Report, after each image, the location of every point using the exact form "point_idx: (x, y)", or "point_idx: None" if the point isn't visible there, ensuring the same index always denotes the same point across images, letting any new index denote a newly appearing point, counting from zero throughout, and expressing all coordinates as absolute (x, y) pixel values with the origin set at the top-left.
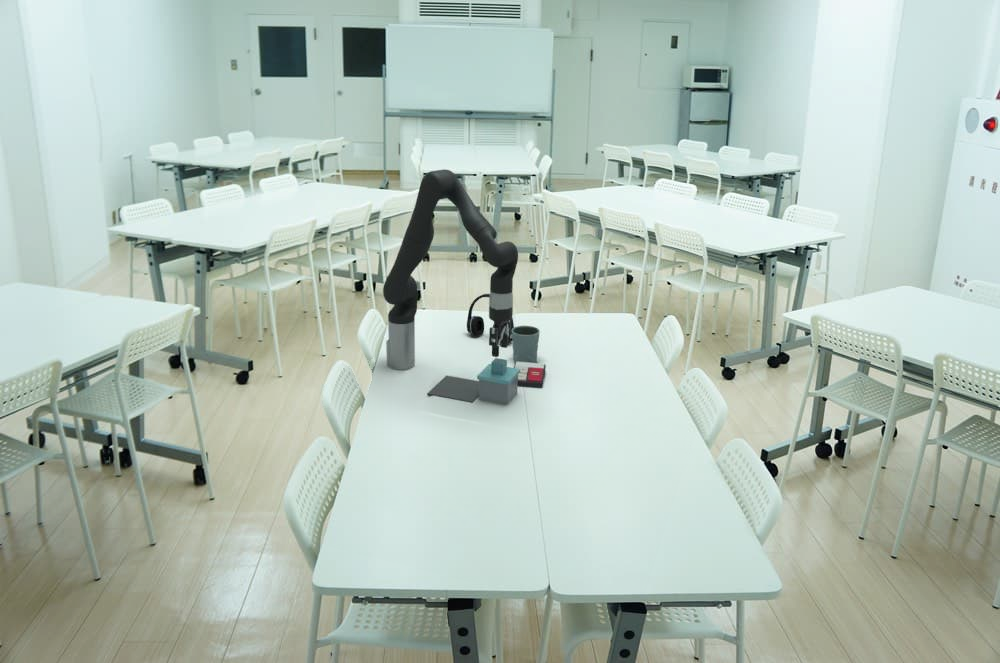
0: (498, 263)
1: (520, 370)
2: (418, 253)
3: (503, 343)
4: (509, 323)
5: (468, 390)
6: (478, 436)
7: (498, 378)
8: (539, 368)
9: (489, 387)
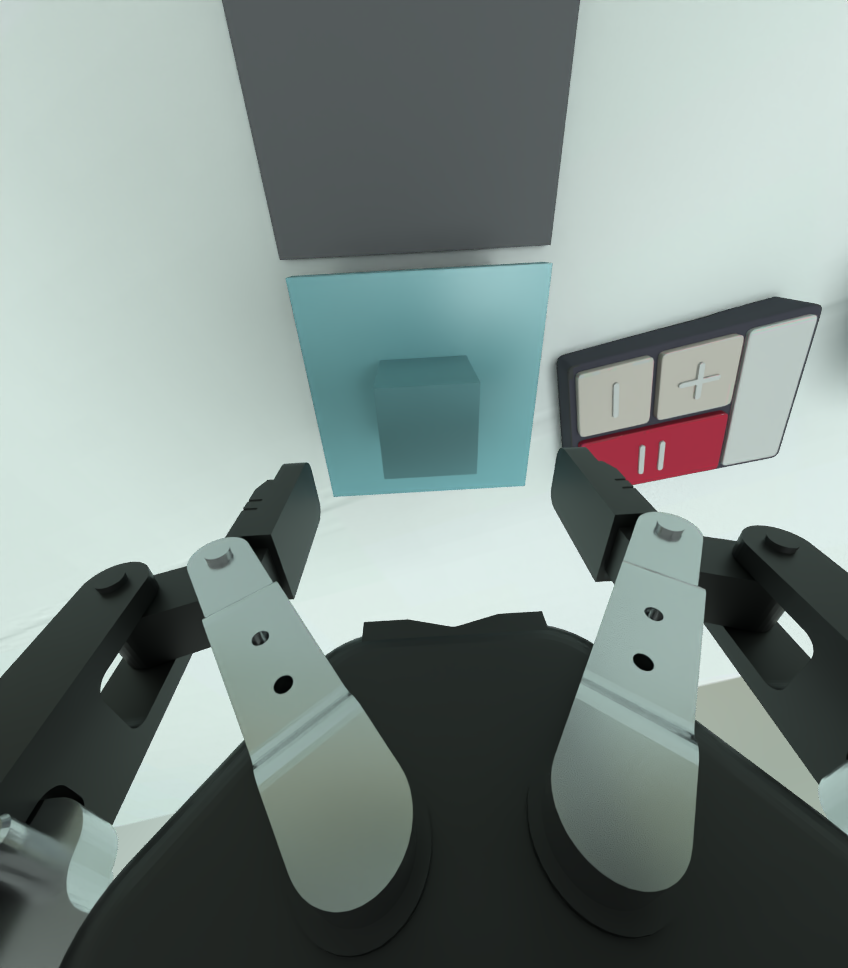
0: None
1: (679, 384)
2: None
3: (570, 493)
4: (818, 780)
5: (400, 154)
6: (55, 424)
7: (336, 432)
8: (713, 455)
9: None
